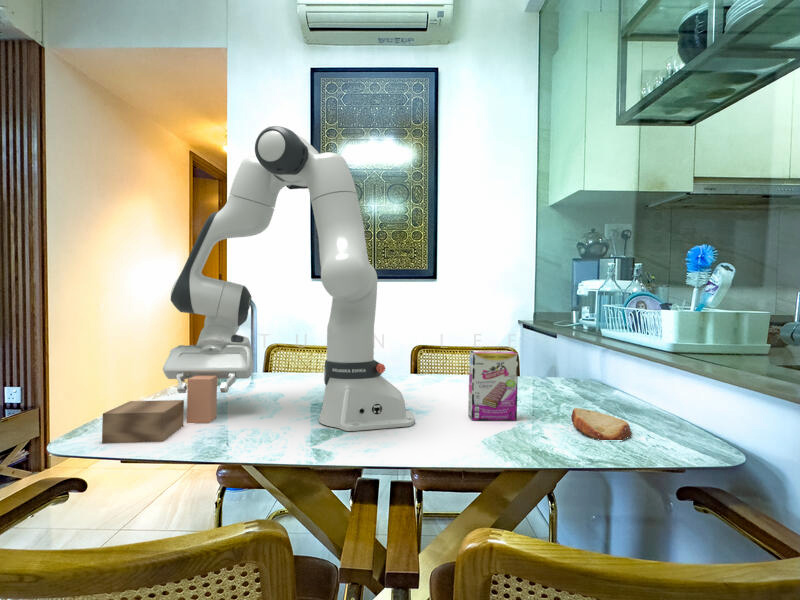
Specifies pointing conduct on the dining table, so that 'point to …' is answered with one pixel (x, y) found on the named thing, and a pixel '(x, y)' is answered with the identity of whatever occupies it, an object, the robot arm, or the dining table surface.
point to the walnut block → (142, 421)
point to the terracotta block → (201, 399)
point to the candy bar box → (493, 385)
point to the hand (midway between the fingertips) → (202, 391)
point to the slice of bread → (600, 425)
